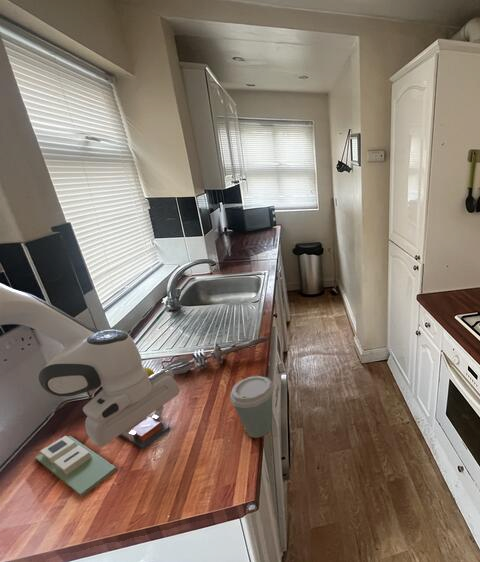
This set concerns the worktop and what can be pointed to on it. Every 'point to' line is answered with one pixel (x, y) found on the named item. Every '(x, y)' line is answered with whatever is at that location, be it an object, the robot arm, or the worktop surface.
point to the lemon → (149, 371)
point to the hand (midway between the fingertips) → (146, 429)
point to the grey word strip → (151, 439)
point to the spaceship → (210, 356)
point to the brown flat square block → (147, 428)
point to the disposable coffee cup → (254, 404)
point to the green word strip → (83, 472)
